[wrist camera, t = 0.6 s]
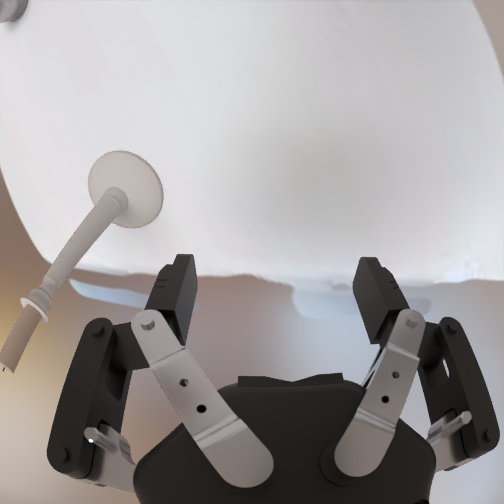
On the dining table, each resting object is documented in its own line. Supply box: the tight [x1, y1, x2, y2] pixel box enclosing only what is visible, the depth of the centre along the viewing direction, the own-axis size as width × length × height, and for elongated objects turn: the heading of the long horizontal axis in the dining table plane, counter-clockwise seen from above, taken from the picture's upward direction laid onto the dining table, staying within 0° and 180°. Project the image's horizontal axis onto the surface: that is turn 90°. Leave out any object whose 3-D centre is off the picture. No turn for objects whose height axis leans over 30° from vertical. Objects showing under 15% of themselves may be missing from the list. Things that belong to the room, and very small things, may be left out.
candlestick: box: [0, 151, 163, 373], centre depth 25 cm, size 13×13×30 cm
